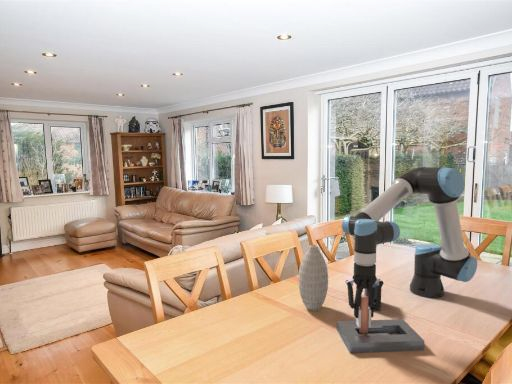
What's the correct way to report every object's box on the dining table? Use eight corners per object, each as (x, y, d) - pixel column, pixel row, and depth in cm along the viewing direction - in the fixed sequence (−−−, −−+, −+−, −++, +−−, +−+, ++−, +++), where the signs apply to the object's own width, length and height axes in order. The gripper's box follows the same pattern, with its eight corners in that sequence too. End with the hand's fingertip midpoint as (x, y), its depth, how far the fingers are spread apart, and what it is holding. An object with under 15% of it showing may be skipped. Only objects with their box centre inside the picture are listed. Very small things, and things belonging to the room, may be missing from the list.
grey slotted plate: (402, 327, 138) (402, 319, 138) (423, 350, 122) (424, 340, 122) (336, 329, 137) (336, 321, 136) (349, 353, 121) (349, 343, 120)
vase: (330, 304, 159) (331, 243, 156) (323, 316, 148) (324, 250, 145) (303, 300, 165) (303, 240, 162) (294, 311, 153) (294, 247, 150)
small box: (381, 310, 153) (382, 287, 152) (365, 309, 154) (366, 286, 153) (378, 300, 163) (378, 278, 162) (363, 299, 164) (364, 278, 163)
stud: (367, 335, 132) (368, 294, 130) (372, 342, 127) (373, 299, 125) (354, 335, 131) (355, 294, 130) (358, 343, 126) (359, 300, 125)
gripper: (382, 259, 130) (380, 320, 133) (339, 260, 129) (338, 321, 132) (391, 265, 123) (389, 330, 125) (345, 266, 122) (344, 331, 124)
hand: (363, 325), depth 128 cm, fingers closed on stud, 3 cm apart
